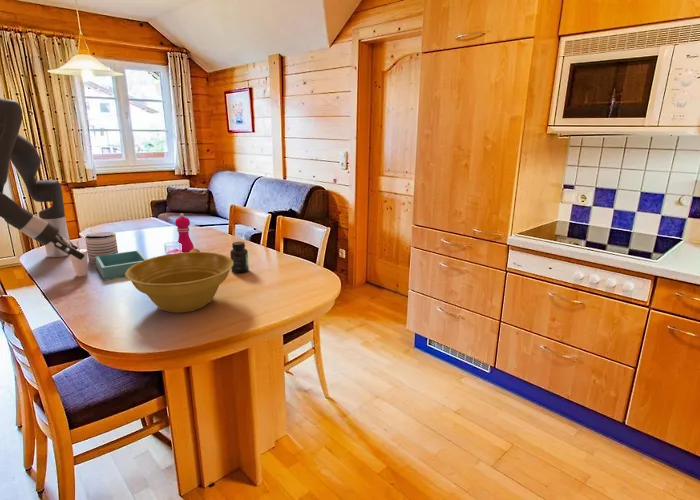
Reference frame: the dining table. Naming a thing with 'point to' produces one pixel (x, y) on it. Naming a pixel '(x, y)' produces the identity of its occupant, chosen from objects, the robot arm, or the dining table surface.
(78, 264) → the smoothie
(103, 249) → the can
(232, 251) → the supplement bottle
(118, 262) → the tote
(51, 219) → the robot arm
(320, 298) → the dining table surface
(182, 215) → the pepper mill
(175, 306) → the planter bowl
